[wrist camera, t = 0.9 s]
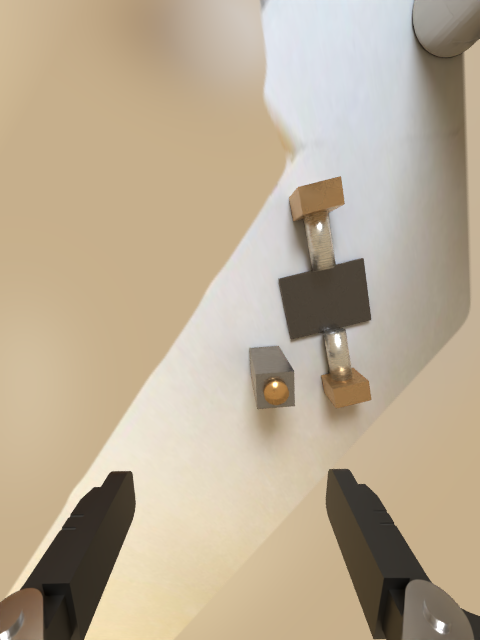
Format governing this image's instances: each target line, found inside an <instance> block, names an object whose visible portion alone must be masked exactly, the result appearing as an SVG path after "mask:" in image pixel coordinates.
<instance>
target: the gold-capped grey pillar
mask: <svg viewBox="0 0 480 640" xmlns="http://www.w3.org/2000/svg"><path fill="white" fill-rule="evenodd" d="M249 350H250V367H251V378H252V383H253V389H254V394H255V399H256V405H257V409H264V408H276V407H289V406H295V398H294V370H293V369H292V367H291V365H290V364H289V362H288V360H287V359H286V357H285V355H284V354H283V352H282V351H281V349H280V347H279V346H272V347H259V348H249Z"/></svg>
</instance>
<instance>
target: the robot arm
mask: <svg viewBox="0 0 480 640" xmlns="http://www.w3.org/2000/svg"><path fill="white" fill-rule="evenodd" d="M413 25H414V29H415V33H416V36H417V38H418V40H419V42H420V43H421V44H422V46H423V47H424V48H425V49H426V50H427V51H428V52H430V53H431V54H433V55H436V56H438V57H453V56H456V55H458V54H461V53H463V52H464V51H466V50H467V49H469V48H470V47H471V46H472V45H473V44H474V43H475V42H476V41H477V40H478V39H480V0H415V2H414V8H413ZM135 505H136V501H135V492H134V483H133V474H132V472H131V471H112V472H110V473H109V475H108V476H107V478H106V480H105V481H104V483H103V484H102V486H101V487H94V488H93V489H92V490H91V491H89V492H88V493H87V494H86V495H85V496H84V497H83V498H82V499H81V500H80V501H79V503H78V504H77V506H76V507H75V509H74V510H73V512H72V513H71V516H70V518H68V519H67V521H66V522H65V524H64V525H63V527H62V530H61V531H59V533H58V534H57V536H56V537H55V539H54V540H53V542H52V543H51V545H50V546H49V548H48V549H47V551H46V552H45V554H44V555H43V557H42V558H41V560H40V561H39V563H38V564H37V566H36V567H35V569H34V570H33V572H32V573H31V575H30V576H29V578H28V579H27V581H26V582H25V584H24V585H23V586H22V588H21V589H20V590H19V591H17V592H15V593H13V594H11V595H10V596H8V597H7V598H5V599H4V600H3V601H1V602H0V640H84V638H85V636H86V633H87V631H88V628H89V626H90V623H91V621H92V618H93V616H94V614H95V611H96V609H97V606H98V604H99V601H100V599H101V596H102V594H103V591H104V589H105V586H106V584H107V582H108V579H109V577H110V574H111V572H112V569H113V567H114V564H115V562H116V559H117V557H118V555H119V552H120V550H121V547H122V545H123V542H124V540H125V537H126V535H127V532H128V530H129V527H130V525H131V523H132V520H133V517H134V512H135ZM326 508H327V513H328V517H329V520H330V523H331V525H332V528H333V531H334V534H335V536H336V539H337V542H338V544H339V547H340V550H341V552H342V555H343V558H344V561H345V563H346V566H347V569H348V571H349V574H350V577H351V579H352V582H353V585H354V588H355V590H356V593H357V596H358V598H359V601H360V604H361V606H362V609H363V612H364V615H365V617H366V620H367V623H368V625H369V628H370V631H371V634H372V636H373V639H386V640H480V616H478V615H475V614H472V613H469V612H467V611H465V610H464V609H462V608H460V607H459V605H458V604H457V603H456V602H455V601H454V600H453V598H451V597H450V596H449V595H448V594H447V593H446V592H445V591H444V590H442V589H441V588H439V587H438V586H436V585H434V584H433V583H432V582H431V581H430V579H429V578H428V576H427V575H426V573H425V572H424V570H423V568H422V567H421V565H420V564H419V562H418V560H417V559H416V557H415V556H414V554H413V552H412V551H411V549H410V548H409V546H408V544H407V543H406V541H405V539H404V538H403V536H402V535H401V533H400V531H399V530H398V528H397V526H395V525H394V522H393V520H392V518H391V517H390V515H389V514H388V513H387V510H386V509H385V507H384V506H383V504H382V502H381V501H380V499H379V498H378V496H377V495H376V494H375V493H374V492H373V491H372V490H371V489H370V488H369V487H368V486H366V485H365V484H358V483H357V482H356V480H355V478H354V476H353V475H352V473H351V471H350V470H348V469H329V471H328V480H327V491H326Z"/></svg>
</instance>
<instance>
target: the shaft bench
mask: <svg viewBox="0 0 480 640" xmlns="http://www.w3.org/2000/svg"><path fill="white" fill-rule="evenodd" d="M289 200H290V206H291V211H292V217H293V221H297V220H301V219H304V224H305V230H306V236H307V242H308V248H309V253H310V259H311V265H312V271H309V272H304V273H300V274H296V275H292V276H288V277H284V278H280V279H279V284H280V289H281V294H282V299H283V304H284V309H285V313H286V318H287V323H288V328H289V333H290V338H291V339H295V338H299V337H303V336H307V335H311V334H315V333H319V332H323V331H324V332H323V334H324V340H325V346H326V352H327V357H328V363H329V369H330V373H329V374H325V375H321V376H322V382H323V387H324V393H325V394H326V395H327V397H328V398H329V399H330V401H331V402H332V403H333V405H334V406H335V407H336V408H340V407H344V406H348V405H352V404H357V403H361V402H365V401H369V400H371V394H370V387H369V381H368V380H367V379H366V378H365V377H364V376H362V375H361V374H360V373H359V372H358V371H356V370H355V369H354V368H351V362H350V356H349V349H348V343H347V336H346V330H345V329H343V328H340V327H344V326H348V325H352V324H356V323H360V322H365V321H369V320H371V314H370V306H369V298H368V290H367V282H366V274H365V266H364V258H361V259H357V260H353V261H349V262H345V263H341V264H337V265H336V263H335V257H334V250H333V243H332V237H331V230H330V224H329V217H328V213H329V212H331V211H333V210H335V209H337V208H338V207H340V206H342V205H344V204H345V203H344V195H343V188H342V181H341V176H340V177H336V178H332V179H328V180H324V181H320V182H316V183H312V184H309V185H305V186H301V187H298V188H297V189H296V190H295V191H294V192H293V194H292V195H291V196H290V197H289Z"/></svg>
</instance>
